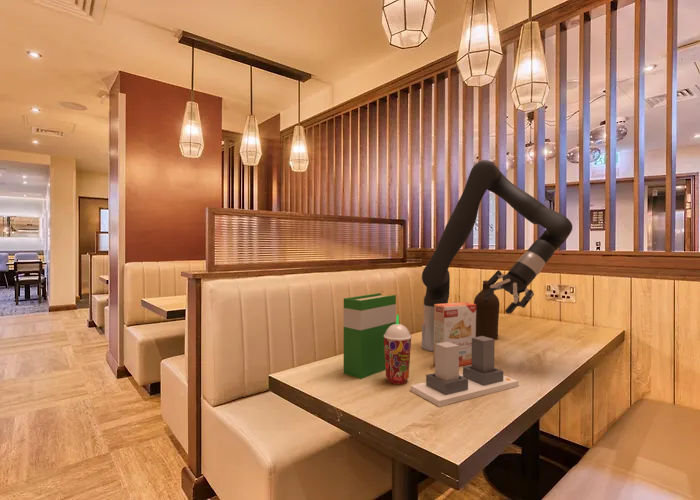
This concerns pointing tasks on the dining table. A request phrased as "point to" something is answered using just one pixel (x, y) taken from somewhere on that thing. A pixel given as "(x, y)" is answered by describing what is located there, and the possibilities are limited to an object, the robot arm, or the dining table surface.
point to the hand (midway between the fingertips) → (495, 305)
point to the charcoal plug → (483, 354)
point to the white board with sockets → (458, 379)
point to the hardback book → (366, 333)
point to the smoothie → (397, 353)
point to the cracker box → (456, 327)
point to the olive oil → (487, 314)
